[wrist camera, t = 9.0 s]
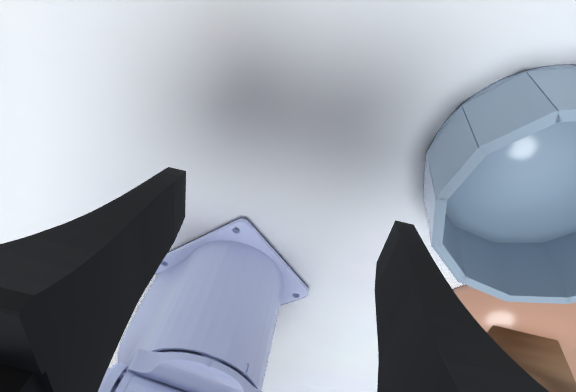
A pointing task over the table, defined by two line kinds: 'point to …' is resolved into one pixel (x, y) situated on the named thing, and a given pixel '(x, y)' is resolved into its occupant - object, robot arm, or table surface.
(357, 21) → the table surface
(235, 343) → the robot arm
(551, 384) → the walnut block
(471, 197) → the bowl
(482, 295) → the peach round plate
